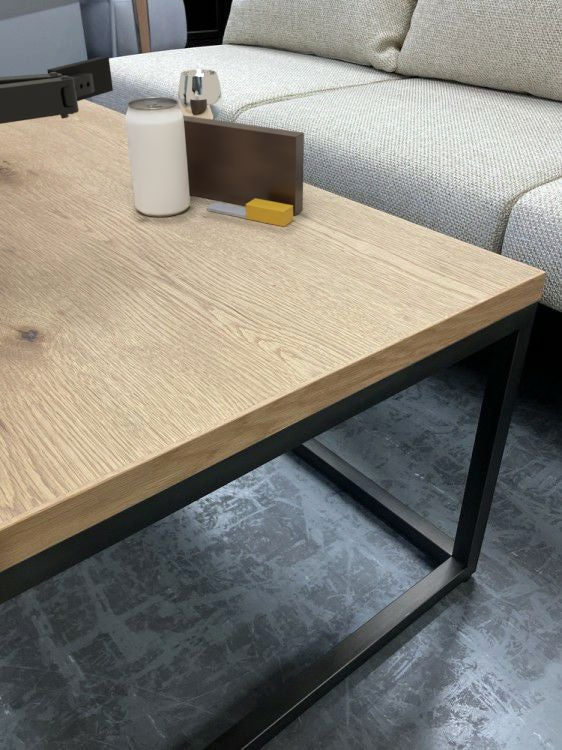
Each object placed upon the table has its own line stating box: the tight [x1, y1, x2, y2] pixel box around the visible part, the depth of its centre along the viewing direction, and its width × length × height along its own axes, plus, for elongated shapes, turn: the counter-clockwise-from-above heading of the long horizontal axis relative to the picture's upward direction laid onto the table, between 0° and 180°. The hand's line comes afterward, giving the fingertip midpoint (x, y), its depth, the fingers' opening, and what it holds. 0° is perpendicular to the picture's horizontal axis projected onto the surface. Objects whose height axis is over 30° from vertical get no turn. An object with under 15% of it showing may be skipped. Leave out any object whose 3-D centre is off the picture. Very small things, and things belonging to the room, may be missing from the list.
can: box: [124, 96, 191, 218], centre depth 80 cm, size 6×6×12 cm
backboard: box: [182, 114, 305, 216], centre depth 84 cm, size 22×2×9 cm, turn 61°
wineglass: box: [177, 68, 223, 120], centre depth 94 cm, size 6×6×12 cm
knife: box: [206, 198, 294, 227], centre depth 81 cm, size 10×2×2 cm, turn 61°
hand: (49, 66), depth 63 cm, fingers open, 13 cm apart
